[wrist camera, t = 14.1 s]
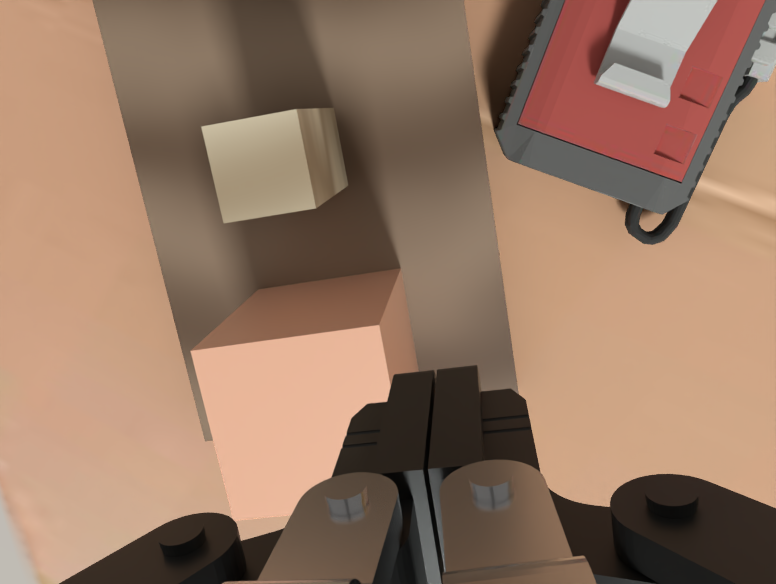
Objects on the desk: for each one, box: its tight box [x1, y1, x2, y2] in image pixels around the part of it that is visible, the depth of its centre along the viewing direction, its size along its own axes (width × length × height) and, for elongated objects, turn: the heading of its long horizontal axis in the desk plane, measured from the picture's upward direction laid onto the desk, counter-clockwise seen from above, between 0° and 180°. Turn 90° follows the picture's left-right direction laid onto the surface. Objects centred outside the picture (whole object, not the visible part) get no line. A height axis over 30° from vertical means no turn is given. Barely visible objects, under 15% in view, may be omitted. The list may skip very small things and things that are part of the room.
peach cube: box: [191, 268, 419, 521], centre depth 23 cm, size 5×5×7 cm
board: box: [93, 0, 518, 441], centre depth 22 cm, size 21×12×7 cm, turn 10°
